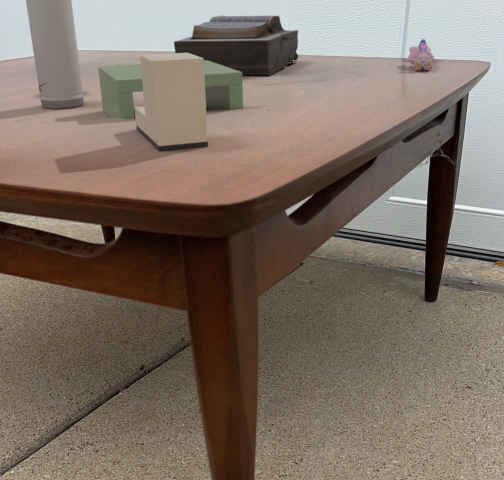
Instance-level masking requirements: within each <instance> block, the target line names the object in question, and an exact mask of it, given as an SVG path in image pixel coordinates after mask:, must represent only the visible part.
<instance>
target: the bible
mask: <svg viewBox="0 0 504 480" xmlns="http://www.w3.org/2000/svg"><path fill="white" fill-rule="evenodd" d="M298 37H299V30H297V29H296V30H295V29H293V30H287V29H284V27H283V26H282V23H281V17H280V15H217V16H211V18H210V19H209V21H205V22H202V23H200V24H195V25H194V26H193V30H192V35H191V36H189V37H188V36H187V37H184V38H181V39H179V40H174V41H173V46H174V53H190V54H193V55H196V56H199V57H201V58H203V59H204V61H205V60H208V61H211V62H214V63H217V64H219V65H222V66H225V67H228V68H231V69H234V70H237V71H240V72H242V76H272V75H273V74H275V73H277V72H279V71H281V70H280V69H282V68H284V67H285V66H286V67H287V66H289V65H288V64H291V63H293V62H294V61H293V60H296V61H298V59H299V54H298V53H297V50H298V47H299V38H298ZM293 64H294V63H293ZM291 65H292V64H291ZM286 67H285V68H286ZM285 68H284V69H285ZM278 70H279V71H278ZM282 70H283V69H282ZM276 71H277V72H276Z"/></svg>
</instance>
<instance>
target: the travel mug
mask: <svg viewBox="0 0 504 480" xmlns="http://www.w3.org/2000/svg"><path fill="white" fill-rule="evenodd" d="M25 3H26V9H27V10H26V11H27V18H28V24H29V30H30V38H31V45H32V53H33V58H34V59H33V60H34V64H35V71H36V78H37V86H38V91H39V95H40V97H39V99H40V105H41V107H42V108H44V109H51V110H53V109H54V110H63V109H64V110H65V109H73V108H78V107H81V106H83V105H84V103H85V99H84V94H83V92H84V91H83V84H82V83H83V82H82V75H81V74H82V73H81V67H80V59H79V51H78V43H77V34H76V27H75V19H74V9H73V2H72V0H25Z"/></svg>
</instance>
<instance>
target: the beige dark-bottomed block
mask: <svg viewBox="0 0 504 480" xmlns="http://www.w3.org/2000/svg"><path fill="white" fill-rule="evenodd" d="M139 59H140V60H139V61H140V64H141V72H142V84H143V91H142V94H143V95H142V97H143V106H134V115H135V117H134V118H135V128H136V131H137V132H139V134H140V135H141V136H143V137H144V139H146V140H147V141H148V142H149V143H150V145H152V146H153V147H154V148H155V149H156V150H157V152H169V151H179V150H189V149H190V150H191V149H199V148H200V149H201V148H208V147H209V141H208V121H207V118H208V117H207V108H206V97H205V77H204V59H203V58H201V57H199V56H196V55H193V54H190V53H175V52H174V53H157V54H141V55H140V56H139Z"/></svg>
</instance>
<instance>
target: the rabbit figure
mask: <svg viewBox="0 0 504 480" xmlns="http://www.w3.org/2000/svg"><path fill="white" fill-rule="evenodd" d="M408 50H409V53H410V54H409V55H408V56H407V59H405V62H406V63H410V64H411V65H412V66H413V69H414V71H415V72H416V73H417V72H419V71H425V70H429V71H432V70H433V62H435V63H439V62H440V59H438V58H435V57H434V55H433V54H432V52H431V51H432V49H431V47H430V46H428V45H427V41H426V39H425V38H422V39H421V40H420V42H419V44H418V45H417V46H415V45H412V46H410V47H409V49H408ZM417 70H418V71H417Z"/></svg>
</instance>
